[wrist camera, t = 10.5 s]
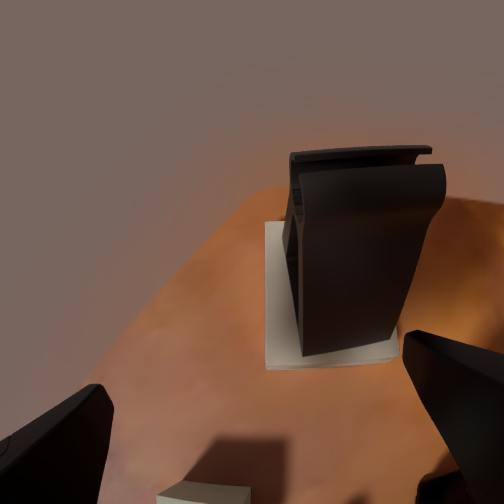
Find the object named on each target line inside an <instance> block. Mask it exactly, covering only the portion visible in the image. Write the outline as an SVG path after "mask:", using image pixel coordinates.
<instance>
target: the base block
mask: <svg viewBox="0 0 504 504" xmlns="http://www.w3.org/2000/svg"><path fill="white" fill-rule="evenodd" d="M284 222H285V221H271V222H265V366H266V369H267V370H298V369H319V368H334V367H346V366H357V365H367V364H376V363H384V362H389V361H391V360H393V359H395V358H397V357H398V356H400V354H399V345H398V336H397V328H396V326H395V329H394V331H393V333H392V336H391V338H390V340H386V341H382V342H378V343H373V344H369V345H364V346H360V347H355V348H350V349H345V350H340V351H335V352H330V353H324V354H319V355H313V356H307V357H302V354H301V347H300V341H299V335H298V328H297V322H296V316H295V310H294V304H293V298H292V292H291V286H290V281H289V275H288V269H287V264H286V258H285V253H284V247H283V242H282V233H283V228H284Z"/></svg>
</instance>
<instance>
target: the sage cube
mask: <svg viewBox="0 0 504 504" xmlns="http://www.w3.org/2000/svg"><path fill="white" fill-rule="evenodd" d="M156 500H157V504H251V487H247V486H230V485H217V484H208V483H199V482H192V481H185V480H182V481H180V482H178V483H177V484H175V485H173V486H172V487H170V488H168V489H166V490H165V491H163V492H161V493H159V494H158V495H156Z"/></svg>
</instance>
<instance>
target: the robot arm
mask: <svg viewBox="0 0 504 504" xmlns="http://www.w3.org/2000/svg"><path fill="white" fill-rule="evenodd" d="M402 358H403V363H404V365H405V368H406V370H407V372H408V374H409V376H410V378H411V380H412V382H413V385H414V387H415V389H416V391H417V393H418V396H419V398H420V400H421V402H422V404H423V405H424V407H425V409H426V410H427V412H428V414H429V415H430V417H431V419H432V420H433V422H434V424H435V426H436V427H437V429H438V431H439V432H440V434H441V436H442V438H443V439H444V441H445V443H446V445H447V446H448V448H449V450H450V452H451V454H452V455H453V457H454V459H455V461H456V463H457V465H458V466H459V468H460V470H457V471H454V472H451V473H449V474H446V475H443V476H440V477H437V478H433V479H430V480H427V481H424V482H421V483H420V484H419V486H418V488H417V499H416V504H504V354H501V353H497V352H493V351H490V350H486V349H483V348H479V347H476V346H472V345H468V344H465V343H461V342H458V341H455V340H451V339H448V338H444V337H441V336H437V335H434V334H431V333H427V332H424V331H421V330H414V331H411V332H408V333H406V334H405V336H404V344H403V355H402ZM113 415H114V406H113V403H112V401H111V399H110V397H109V395H108V394H107V392H106V390H105V388H104V386H103V385H101V384H89V385H87V386H86V387H84V388H83V389H81V390H80V391H78V392H77V393H75V394H74V395H72V396H71V397H69V398H67V399H66V400H64V401H63V402H61V403H60V404H58V405H57V406H55V407H54V408H52V409H50V410H49V411H47V412H46V413H44V414H43V415H41V416H40V417H38V418H36V419H35V420H33V421H32V422H30V423H29V424H27V425H26V426H24V427H23V428H21V429H19V430H18V431H16V432H14V433H13V434H12V435H11V436H8V437H6V438H5V439H3V440H2V441H0V504H97V501H98V496H99V491H100V486H101V481H102V477H103V472H104V468H105V463H106V459H107V455H108V450H109V444H110V436H111V428H112V421H113ZM425 485H426V488H425V489H424V490H422V488H423V487H424V486H425Z"/></svg>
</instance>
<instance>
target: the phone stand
mask: <svg viewBox="0 0 504 504" xmlns="http://www.w3.org/2000/svg"><path fill="white" fill-rule="evenodd" d="M419 154H432V148H431V147H430V146H427V145H397V146H370V147H352V148H336V149H323V150H313V151H302V152H292V153H291V154H290V159H289V169H290V192H289V199H288V205H287V211H286V216H285V222H284V228H283V233H282V242H283V247H284V253H285V258H286V264H287V269H288V275H289V281H290V286H291V292H292V298H293V304H294V310H295V316H296V322H297V328H298V335H299V341H300V347H301V354H302V357H307V356H313V355H319V354H324V353H330V352H335V351H340V350H345V349H350V348H355V347H360V346H364V345H369V344H373V343H378V342H382V341H386V340H390V338H391V336H392V333H393V331H394V329H395V326H396V324H397V321H398V318H399V316H400V313H401V310H402V308H403V305H404V302H405V300H406V297H407V294H408V291H409V288H410V285H411V282H412V279H413V276H414V273H415V270H416V266H417V263H418V260H419V256H420V253H421V250H422V246H423V242H424V239H425V235H426V231H427V228H428V226H429V224H430V222H431V220H432V218H433V216H434V215H435V214H436V212H437V211H438V210H439V209H440V208H441V206H442V205H443V202H444V199H445V195H446V175H445V170H444V166H443V164H420V165H414V164H415V161H416V158H417V156H418V155H419Z"/></svg>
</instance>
